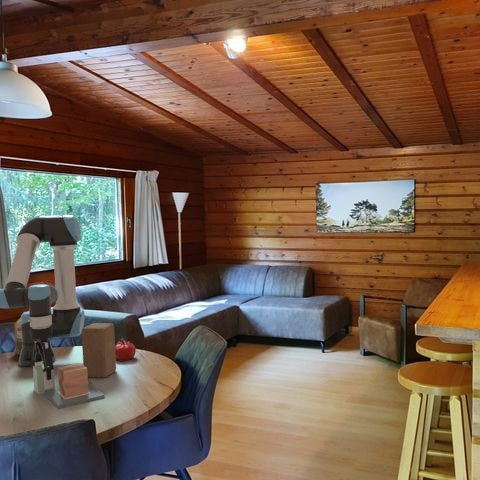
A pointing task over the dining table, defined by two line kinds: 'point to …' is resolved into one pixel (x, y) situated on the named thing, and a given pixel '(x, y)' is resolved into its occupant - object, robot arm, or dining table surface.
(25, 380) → the dining table surface
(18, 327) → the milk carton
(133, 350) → the pomegranate
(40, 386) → the sage block
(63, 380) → the terracotta block
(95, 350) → the wooden block
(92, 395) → the board
